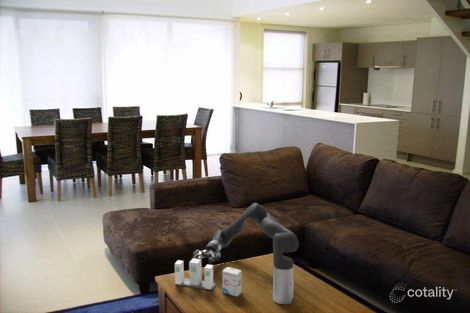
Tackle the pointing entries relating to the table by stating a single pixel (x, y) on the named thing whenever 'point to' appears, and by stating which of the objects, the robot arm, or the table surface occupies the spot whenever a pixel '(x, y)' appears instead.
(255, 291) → the table surface
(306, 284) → the table surface
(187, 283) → the rail
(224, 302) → the table surface
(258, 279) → the table surface
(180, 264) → the mounted modules
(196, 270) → the white tall block
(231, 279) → the ink box
